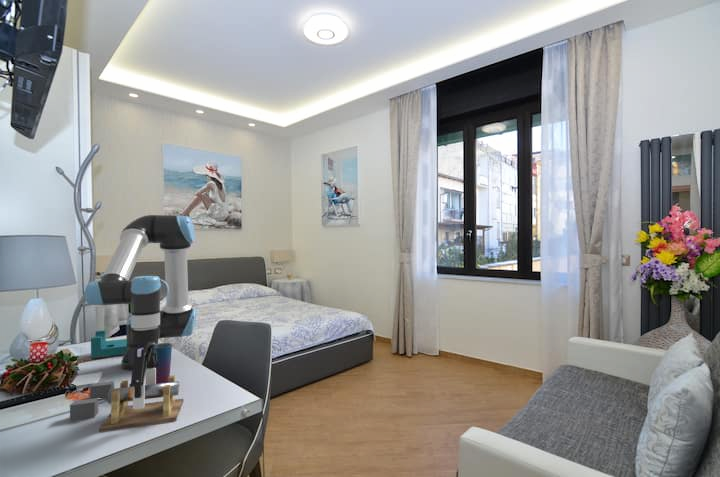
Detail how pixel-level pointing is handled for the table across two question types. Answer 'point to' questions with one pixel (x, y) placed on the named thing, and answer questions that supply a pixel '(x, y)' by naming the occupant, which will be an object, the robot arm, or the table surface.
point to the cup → (163, 362)
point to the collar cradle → (141, 410)
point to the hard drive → (87, 379)
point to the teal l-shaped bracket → (106, 345)
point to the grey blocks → (90, 401)
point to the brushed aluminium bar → (150, 391)
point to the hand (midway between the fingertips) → (145, 398)
